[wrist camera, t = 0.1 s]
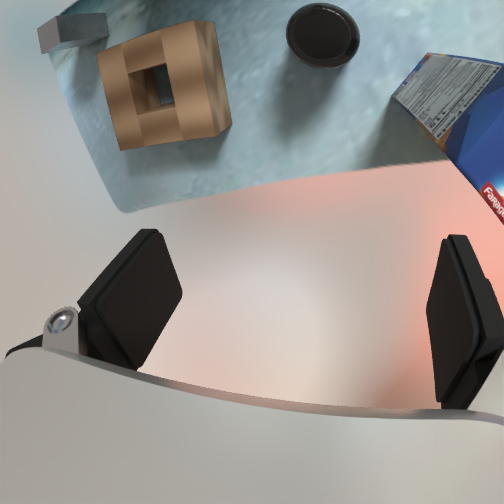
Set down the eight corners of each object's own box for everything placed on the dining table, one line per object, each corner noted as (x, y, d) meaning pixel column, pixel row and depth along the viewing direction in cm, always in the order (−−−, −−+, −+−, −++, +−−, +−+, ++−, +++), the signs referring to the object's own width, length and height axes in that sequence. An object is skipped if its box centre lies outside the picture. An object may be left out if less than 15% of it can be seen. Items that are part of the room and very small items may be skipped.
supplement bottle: (299, 65, 33) (281, 73, 23) (293, 12, 29) (272, -2, 19) (357, 66, 31) (364, 73, 21) (353, 12, 27) (359, -5, 17)
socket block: (123, 49, 35) (96, 53, 31) (214, 22, 31) (193, 19, 27) (143, 136, 43) (120, 150, 39) (232, 123, 39) (215, 136, 34)
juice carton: (492, 121, 28) (608, 219, 10) (457, 159, 33) (542, 285, 15) (426, 52, 27) (536, 70, 8) (390, 94, 31) (454, 164, 13)
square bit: (86, 22, 33) (37, 28, 25) (105, 12, 32) (55, 16, 24) (90, 44, 35) (41, 54, 28) (109, 35, 34) (60, 42, 27)
